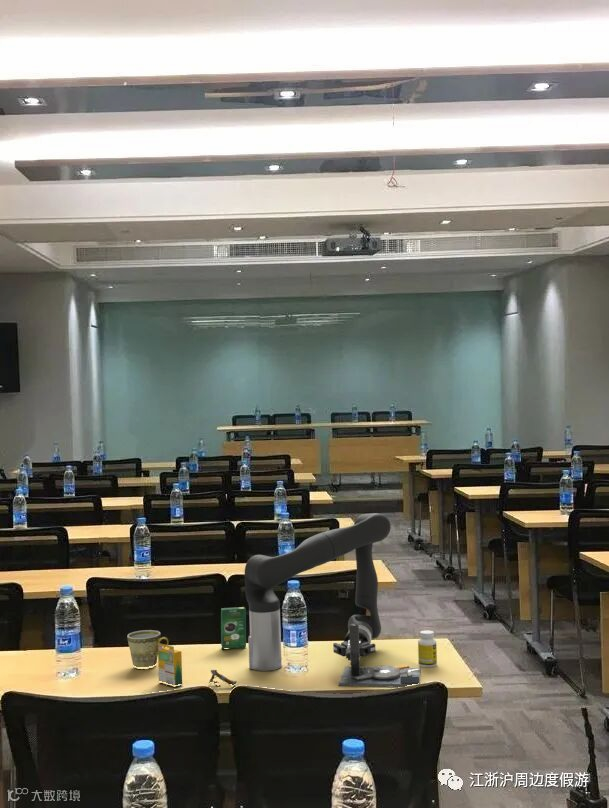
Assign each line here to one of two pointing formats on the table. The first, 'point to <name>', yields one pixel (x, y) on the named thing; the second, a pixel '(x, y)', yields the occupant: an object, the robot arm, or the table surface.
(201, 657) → the table surface
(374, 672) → the upright bar with disc
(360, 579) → the robot arm
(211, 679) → the wooden post with brackets
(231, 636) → the coffee box
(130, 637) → the ceramic cup
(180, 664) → the crayon box
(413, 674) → the base plate
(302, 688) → the table surface
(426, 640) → the supplement bottle
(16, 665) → the table surface
